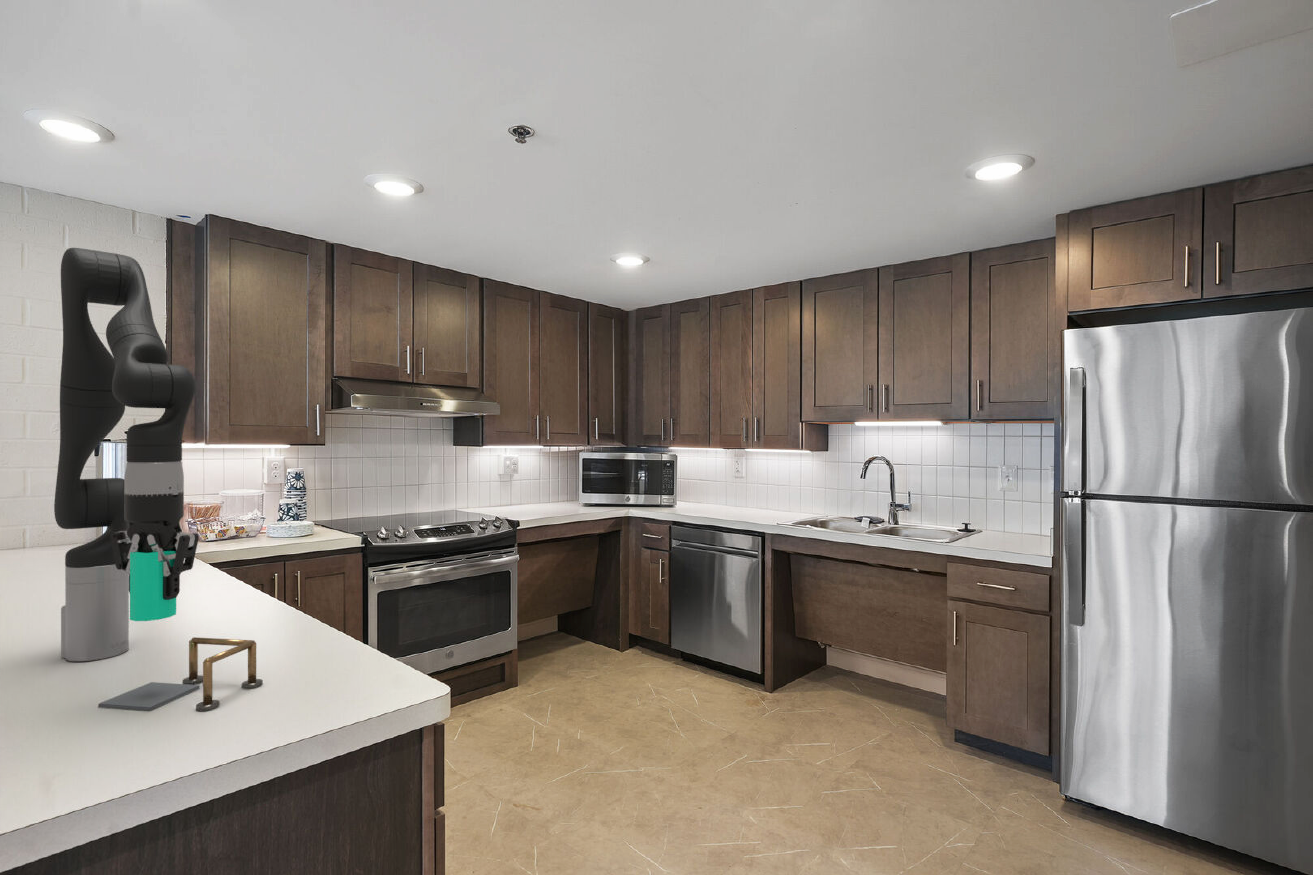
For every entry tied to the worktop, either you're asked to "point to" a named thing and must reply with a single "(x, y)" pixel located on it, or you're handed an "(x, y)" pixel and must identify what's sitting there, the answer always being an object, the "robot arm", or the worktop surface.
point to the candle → (148, 588)
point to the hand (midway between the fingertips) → (154, 597)
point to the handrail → (207, 664)
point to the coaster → (149, 696)
